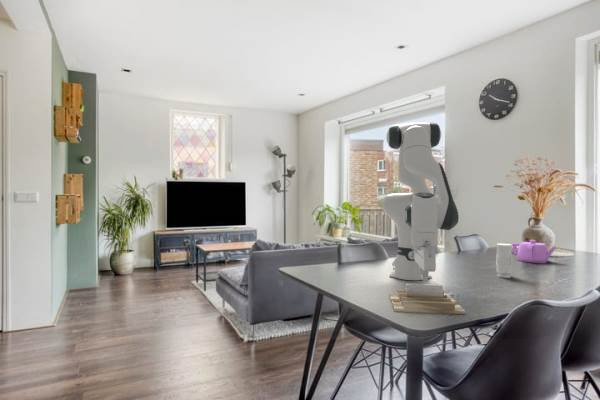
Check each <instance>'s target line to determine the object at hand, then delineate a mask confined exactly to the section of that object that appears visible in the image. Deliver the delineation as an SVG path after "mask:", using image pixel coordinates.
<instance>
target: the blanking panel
mask: <svg viewBox="0 0 600 400" xmlns="http://www.w3.org/2000/svg"><path fill="white" fill-rule="evenodd" d="M405 290H406V297H425V298H443V292H444V285H443V284H441V283H440V284H437V283H433V284H432V283H411V282H410V283H408V282H406V283H405Z"/></svg>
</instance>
